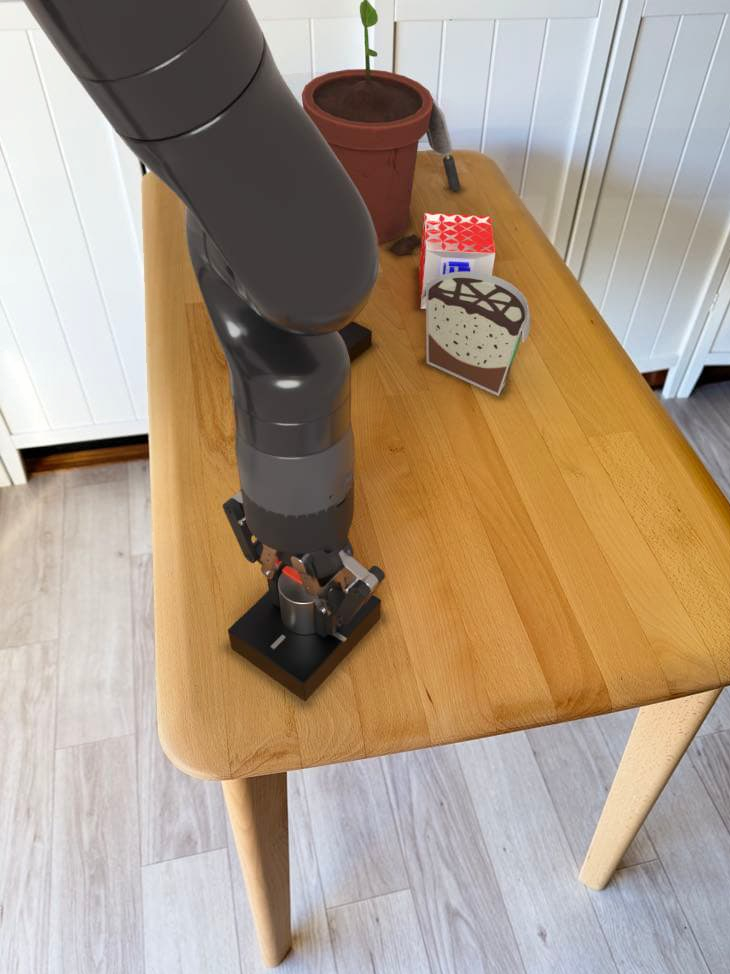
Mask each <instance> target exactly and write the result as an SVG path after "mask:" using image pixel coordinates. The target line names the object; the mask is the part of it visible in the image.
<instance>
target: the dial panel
mask: <svg viewBox="0 0 730 974" xmlns="http://www.w3.org/2000/svg"><path fill="white" fill-rule="evenodd" d="M344 580H346V577H344ZM345 583H346V582H345ZM346 586H347V584H346ZM331 590H332V589H331ZM331 590H330V591H331ZM266 591H267V592H265V593H264V594H263V595H262V596H261V597H260V598H259V599H258V600H257V601H256V602H255V603H254V604H253V605H252V606H251V607H250V608H249V609H248V610H247V611H246V612H245V613H243V615H241V616H240V617H239V618H238V619H237V620H236V621H235V622H234V623H233V624H232V625H231V626H230V627H229V628H228V629H227V634H228V639H229V643H230V648H231V650H232V651H234V652H235V653H237V654H238V655H239V656H241V657H242V658H243V659H245V660H246V661H248V662H249V663H250V664H252V665H253V666H255V667H256V668H257V669H259V670H260V671H261V672H263V673H264V674H265V675H267V676H268V677H269V678H271V679H273V680H274V681H276V682H277V683H278V684H280V686H282V687H284V688H285V689H287V691H288V692H289V691H290V693H292V694H293V695H295V696H296V697H298V698H299V699H301V701H303V702H307V700H308V699H309V698H310V697H311V696H313V693H315V692H316V690H317V689H318V688H319V687H320V686H321V685H322V684H323V682H325V680H326V679H327V678H328V677H329V676H330V675H331V674H332V673H333V672H334V670H335V669H336V668H337V667H338V666H339V665H340V664H341V663H342V662H343V661H344V660H345V658H346V657H347V656H348V655H349V654H350V653H351V652H352V650H354V649H355V648H356V646H357V645H358V644H359V643H360V642H361V641H362V640H363V639H364V637H366V635H367V634H368V633H369V632H370V631H371V630H372V629H373V627H374V626H375V625H376V624H377V623H378V622H379V621H380V619H381V608H382V599H380V598H379V597H377V596H376V595H374V594H373V595H372V596H371V598H370V599H369V600H368V602H367V603H366V604H365V605H364V606H363V607H362V608H361V609H360V610H359V611H358V612H357V613H356V614H355V615H354V616H353V617H352V619H351V620H350V621H349V622H348V623H347V624H346V625H344V624H341V626H340V627H339V628H338V629H337V630H336V631H335V632H334V633H333V634H332V635H329V634H328V635H327V636H326V637H322V636H321V635H319V634H318V633H317V632H316V633H313V634H308V635H302V634H297V633H294V632H292V631H290V630H289V629H288V628H287V627H286V626H285V625H284V623H283V621H282V618H281V609H280V607H278V606H277V605H275V604H274V603H273V602H272V597H271V594H270V592H269V590H268V587H267V588H266Z"/></svg>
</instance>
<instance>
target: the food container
mask: <svg viewBox="0 0 730 974" xmlns="http://www.w3.org/2000/svg"><path fill="white" fill-rule="evenodd" d="M425 296H426V309H425V314H426V315H425V319H426V320H425V324H426V325H425V328H426V329H425V331H426V332H425V335H426V336H425V337H426V339H425V340H426V341H425V342H426V343H425V344H426V353H425V354H426V355H425V356H426V364H427V365H430V366H432V367H434V368H436V369H439V370H441V371H442V372H445V373H447V374H449V375H451V376H453V377H456V378H458V379H460V380H463V381H465V382H467V383H468V384H471V385H473V386H476V387H478V388H480V389H482V390H483V391H486V392H488V393H491V394H493V395H496V396H497V397H500V395H501V394H502V393H503V391H504V388H505V385H506V383H507V379H508V377H509V374H510V371H511V368H512V365H513V362H514V359H515V356H516V353H517V350H518V347H519V344H520V341H522V343H525V342H526V340H527V339H528V337H529V334H530V330H531V314H530V307H529V305H528V302H527V299H526V297H525V295H524V294H523V293H522V292H521V290H519V289H518V288H517V287H516V286H515V285H514V284H511V283H510V282H509V281H506V279H503V278H500V277H498V276H495V275H493V274H492V275H489V274H485V273H479V272H468V271H466V272H453V273H448V274H444V275H441V276H438V277H436V278H434V279H432V280H431V281H429V282H428V283H427V285H426V287H424V290H423V293H422V296H421V299H423V298H424V297H425ZM521 338H522V339H521Z"/></svg>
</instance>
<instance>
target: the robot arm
mask: <svg viewBox="0 0 730 974" xmlns="http://www.w3.org/2000/svg"><path fill="white" fill-rule="evenodd" d="M22 1H23V3H24V4H25V6H26V8H27V10H28V11H29V13H30V14H31V16H32V17H33V19H34V20H35V21H36V23H37V24H38V26H39V27H40V29H41V30H42V32H43V33H44V35H45V36H46V37H47V39H48V40H49V42H50V44H51V45H52V46H53V48H54V49H55V50H56V52H57V53H58V55H59V56H60V58H61V59H62V60H63V62H64V63H65V64H66V66H67V67H68V68H69V70H70V71H71V72H72V74H73V75H74V77H75V78H76V79H77V81H78V82H79V83H80V85H81V86H82V88H83V89H84V91H85V92H86V93H87V95H88V96H89V98H90V99H91V100H92V101H93V103H94V105H95V106H96V107H97V109H98V110H99V111H100V112H101V113H102V115H103V116H104V118H105V119H106V120H107V122H108V123H109V125H110V126H111V127H112V129H113V130H114V131H115V132H116V134H117V135H118V136H119V138H120V139H121V140H122V142H123V143H124V144H125V146H126V147H127V148H128V149H129V150H130V151H131V152H132V153H133V155H134V156H135V157H136V158H137V159H138V160H139V161H140V162H141V164H143V165H144V166H145V168H147V169H148V170H149V171H150V172H151V173H152V174H153V175H154V176H155V177H156V178H157V179H158V180H160V182H162V183H163V184H164V185H165V186H166V188H168V189H169V190H170V191H171V192H172V193H173V194H174V195H175V196H176V197H177V198H178V199H179V201H181V203H183V204H184V205H185V212H184V228H185V229H184V230H185V239H186V246H187V250H188V255H189V259H190V263H191V266H192V269H193V273H194V276H195V280H196V282H197V285H198V288H199V291H200V294H201V297H202V300H203V303H204V305H205V308H206V311H207V314H208V317H209V320H210V323H211V326H212V328H213V330H214V333H215V336H216V338H217V340H218V343H219V345H220V348H221V350H222V352H223V355H224V357H225V360H226V364H227V368H228V375H229V387H230V388H229V389H230V397H231V404H232V409H233V416H234V424H235V433H234V434H235V435H234V452H235V458H236V459H235V460H236V466H237V467H236V468H237V472H238V480H239V486H240V489H239V490H238V491H237V492H236V493H235V494H233V496H231V497H230V498H229V499H227V500H226V501H224V503H222V509H223V511H224V514H225V516H226V519H227V520H228V523H229V525H230V527H231V530H232V531H233V534H234V536H235V538H236V541H237V543H238V546H239V548H240V550H241V552H242V554H243V556H244V558H245V559H246V561H248V562H249V563H250V564H255V563H256V562H258V563H259V564H260V565H261V568H260V571H261V574H262V575H263V576H264V577H265V578H266V583H267V588H268V590H269V592H270V594H271V597H272V602H273V603H274V604H275V605H277V606H278V607H280V599H279V590H278V580H279V577H280V575H281V573H282V569H283V568H285V567H286V566H291V567H293V568H294V569H295V570H297V571H298V573H299V576H300V578H301V581H302V584H303V587H304V590H305V592H306V594H308V595H310V596H313V599H314V602H315V604H316V607H317V608H316V609H315V615H316V632H317V633H318V634H319V635H321V636H322V637H326V636H327V635H328V634H329V635H332V634H333V633H334V632H335V631H336V630H337V629H338V628H339V627H340V626H341V624H344V625H346V624H347V623H348V622H349V621H350V620H351V619H352V617H353V616H354V615H355V614H356V613H357V612H358V611H359V610H360V609H361V608H362V607H363V606H364V605H365V604H366V603H367V602H368V600H369V599H370V598H371V596H372V595H374V593H375V592H376V591H377V589H378V587H379V586H380V585H381V583H382V582H383V581H384V580H385V578H386V574H385V571H383V569H382V568H381V567H379V566H377V565H372V566H370V568H369V569H367V568H366V567H364V566H363V565H362V564H361V563H360V562H359V561H358V560H356V559H355V558H354V554H355V552H354V547H353V545H352V543H351V541H350V538H349V534H350V530H351V527H352V524H353V519H354V514H355V455H356V454H355V451H356V450H355V449H356V447H355V436H354V435H355V434H354V430H353V425H352V365H351V363H350V358H349V354H348V350H347V347H346V344H345V342H344V340H343V339H342V337H341V336H340V334H339V333H338V330H340V329H342V328H344V327H345V326H347V325H348V324H349V323H351V322H352V321H353V322H354V320H356V318H358V317H359V316H360V314H361V313H362V312H363V310H364V309H365V308H366V306H367V304H368V303H369V301H370V299H371V297H372V295H373V293H374V290H375V288H376V285H377V281H378V276H379V270H380V247H379V244H378V239H377V234H376V230H375V227H374V224H373V221H372V218H371V215H370V213H369V211H368V209H367V207H366V205H365V203H364V201H363V199H362V197H361V195H360V193H359V192H358V190H357V188H356V186H355V185H354V183H353V182H352V180H351V178H350V177H349V175H348V174H347V172H346V171H345V169H344V167H343V166H342V164H341V163H340V161H339V160H338V158H337V157H336V155H335V154H334V152H333V151H332V149H331V148H330V146H329V145H328V143H327V142H326V140H325V139H324V137H323V136H322V134H321V133H320V131H319V130H318V128H317V127H316V125H315V124H314V122H313V121H312V120H311V118H310V117H309V116H308V114H307V113H306V112H305V110H304V109H303V105H301V103H300V102H299V100H298V98H296V95H294V93H293V92H292V90H291V89H290V87H289V85H288V83H286V81H285V79H284V77H283V76H282V74H281V72H280V70H279V68H278V66H277V63H276V61H275V59H274V56H273V53H272V51H271V49H270V46H269V44H268V42H267V39H266V36H265V35H264V32H263V31H262V28H261V25H260V24H259V22H258V20H257V18H256V15H255V13H254V11H253V9H252V7H251V4H250V2H249V0H22ZM253 536H254V538H255V539H256V540H254V541H253ZM344 577H346V580H344ZM345 582H346V583H345ZM346 584H347V586H346ZM331 589H332V590H331ZM330 590H331V591H330ZM329 591H330V592H329ZM328 592H329V593H328Z"/></svg>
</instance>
